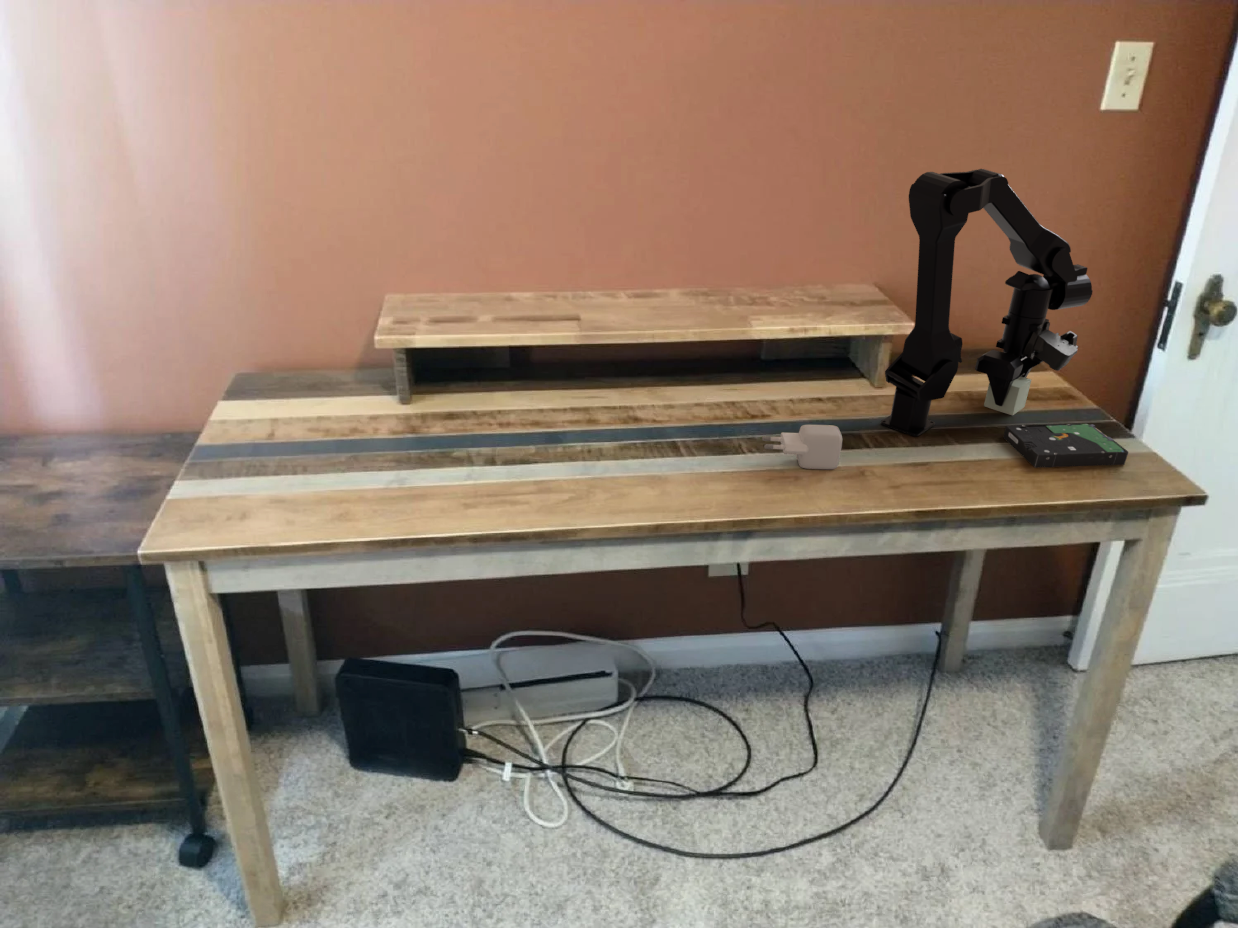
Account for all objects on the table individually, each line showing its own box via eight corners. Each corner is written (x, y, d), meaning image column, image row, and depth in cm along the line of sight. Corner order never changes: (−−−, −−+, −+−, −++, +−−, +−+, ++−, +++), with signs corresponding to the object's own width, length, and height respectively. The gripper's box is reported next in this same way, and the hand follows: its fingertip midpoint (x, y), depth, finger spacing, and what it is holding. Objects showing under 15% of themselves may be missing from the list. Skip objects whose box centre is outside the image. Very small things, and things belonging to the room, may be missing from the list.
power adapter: (762, 470, 141) (767, 434, 138) (758, 455, 145) (762, 419, 142) (839, 473, 141) (845, 437, 138) (832, 457, 145) (838, 422, 143)
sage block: (1012, 415, 161) (1019, 387, 159) (983, 406, 164) (990, 378, 161) (1024, 406, 164) (1031, 379, 162) (995, 397, 167) (1002, 370, 165)
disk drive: (1034, 472, 145) (1125, 467, 147) (1039, 455, 144) (1130, 450, 146) (1000, 440, 154) (1086, 436, 156) (1004, 424, 153) (1091, 420, 155)
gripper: (1055, 340, 145) (1030, 433, 153) (1098, 312, 158) (1073, 399, 165) (984, 321, 152) (963, 411, 159) (1031, 295, 164) (1010, 380, 172)
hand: (1005, 400), depth 164 cm, fingers closed on sage block, 5 cm apart
